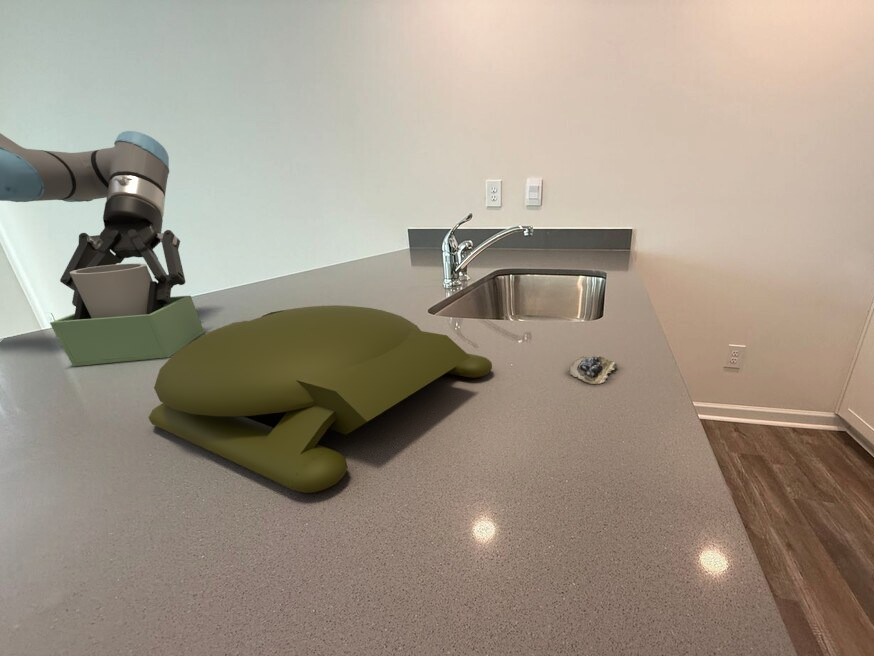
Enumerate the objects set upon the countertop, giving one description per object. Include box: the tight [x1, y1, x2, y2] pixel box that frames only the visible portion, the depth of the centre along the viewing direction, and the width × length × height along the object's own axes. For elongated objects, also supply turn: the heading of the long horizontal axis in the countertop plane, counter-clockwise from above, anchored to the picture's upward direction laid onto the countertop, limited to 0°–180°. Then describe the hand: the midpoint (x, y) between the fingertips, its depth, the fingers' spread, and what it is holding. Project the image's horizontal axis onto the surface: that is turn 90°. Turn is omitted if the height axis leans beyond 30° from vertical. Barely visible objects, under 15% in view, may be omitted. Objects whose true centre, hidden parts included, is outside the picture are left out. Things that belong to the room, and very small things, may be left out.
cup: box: [70, 262, 154, 319], centre depth 67 cm, size 9×9×12 cm
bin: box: [49, 295, 205, 367], centre depth 69 cm, size 13×13×7 cm
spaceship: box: [148, 304, 493, 494], centre depth 51 cm, size 35×31×10 cm
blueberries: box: [569, 355, 618, 385], centre depth 56 cm, size 7×8×2 cm
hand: (119, 322), depth 65 cm, fingers closed on cup, 9 cm apart
